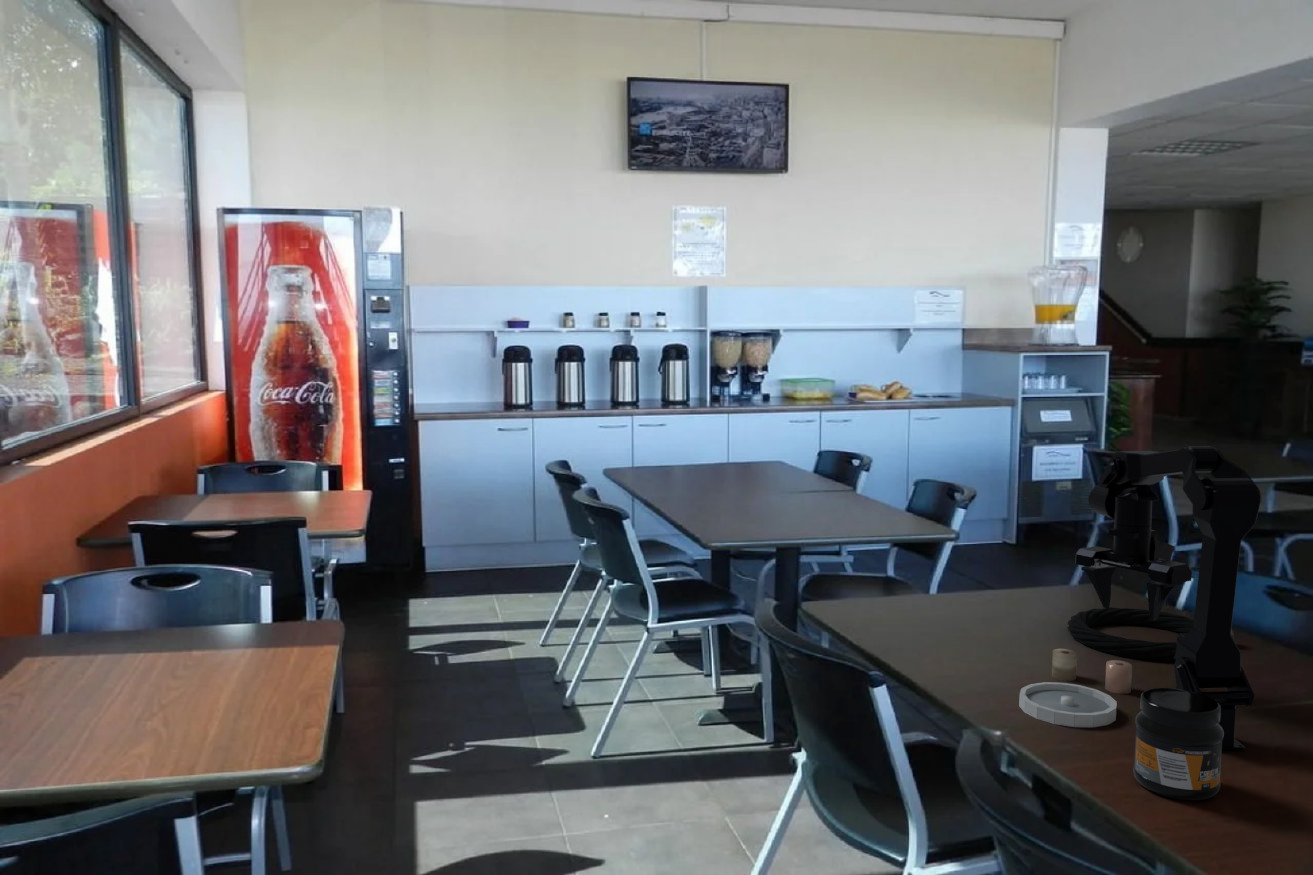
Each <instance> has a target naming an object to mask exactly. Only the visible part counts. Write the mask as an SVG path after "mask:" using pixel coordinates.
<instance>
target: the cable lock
mask: <svg viewBox="0 0 1313 875" xmlns="http://www.w3.org/2000/svg"><path fill="white" fill-rule="evenodd" d="M1193 624H1194V619H1192V618H1190V617H1188V616H1184V615H1178V614H1174V613H1170V612H1166V611H1160V613H1159V616H1158V618H1157V620H1151V619H1150V614H1149V609H1144V608H1124V607H1123V608H1121V607H1111V606H1109V608H1104V607H1102V608H1091V609H1088V610H1081V611H1078V612H1077V613H1076V614H1074V615H1071V616H1070V619H1069V620H1068V621H1067V625H1068V626H1067V630H1068V632H1069V634H1070V635H1071V637H1072V638H1073V639H1075V640H1076V642H1078V643H1080V644H1082V645H1085V646H1087V647H1089V648H1091V649H1093V650H1095V651H1096V650H1097V651H1100V652H1102V653H1108V654H1110V655H1111V654H1112V655H1116V656H1119V657H1122V658H1132V659H1133V658H1134V659H1137V660H1144V661H1152V662H1154V661H1155V662H1160V661H1162V662H1175V661H1176V659H1174V656H1175V654H1176V648H1177V641H1176V642H1169V641H1168V642H1167V641H1166V642H1165V641H1164V642H1163V641H1161V642H1160V641H1159V642H1155V641H1148V640H1143V639H1142V640H1141V639H1132V638H1126V637H1121V636H1116V635H1111V634H1107V633H1105V632H1102V631H1100V630H1095V629H1093V627H1097V626H1107V625H1122V626H1123V625H1125V626H1126V625H1134V626H1140V627H1149V628H1158V629H1161V630H1165V631H1171V632H1176V633H1178V634H1180V633H1189V631H1190V630H1191V629H1192V628H1193ZM1231 636H1232V638H1233V640H1234V641H1235V633H1234V631H1233V630H1232V629H1231Z"/></svg>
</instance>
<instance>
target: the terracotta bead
mask: <svg viewBox="0 0 1313 875" xmlns="http://www.w3.org/2000/svg"><path fill="white" fill-rule="evenodd" d="M1132 674H1133V665H1132V663H1129V662H1128V661H1124V660H1119V659H1118V660H1117V659H1111V660H1107V661H1106V665H1105V681H1104V682H1105V683H1104V684H1105V685H1104V689H1105V690H1106V691H1108V692H1110V693H1114V694H1118V695H1119V694H1120V695H1121V694H1123V695H1125V694H1126V695H1127V694H1130V693H1131V692H1132V676H1133V675H1132Z"/></svg>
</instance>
